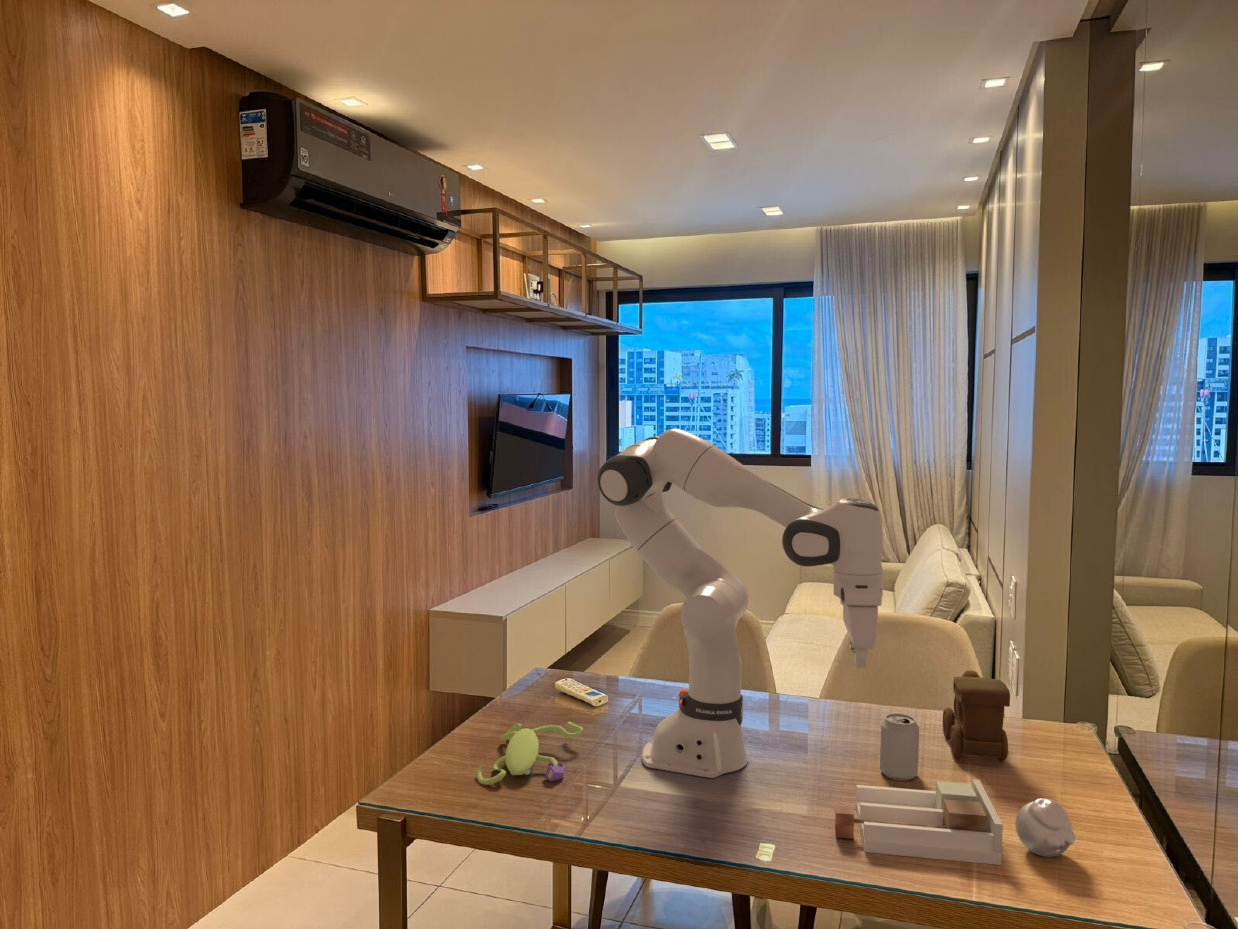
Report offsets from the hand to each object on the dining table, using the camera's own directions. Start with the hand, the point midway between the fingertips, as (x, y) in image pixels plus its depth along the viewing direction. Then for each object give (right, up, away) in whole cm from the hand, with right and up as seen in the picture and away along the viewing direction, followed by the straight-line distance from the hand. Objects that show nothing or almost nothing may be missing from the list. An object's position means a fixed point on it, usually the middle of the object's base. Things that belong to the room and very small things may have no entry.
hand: (857, 659), depth 161 cm
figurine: (-63, -27, +23) cm, 73 cm away
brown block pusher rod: (+6, -29, -10) cm, 32 cm away
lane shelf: (+10, -29, -7) cm, 32 cm away
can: (+13, -28, +17) cm, 35 cm away
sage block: (+16, -27, -5) cm, 32 cm away
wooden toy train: (+34, -27, +29) cm, 52 cm away
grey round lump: (+28, -30, -14) cm, 43 cm away
